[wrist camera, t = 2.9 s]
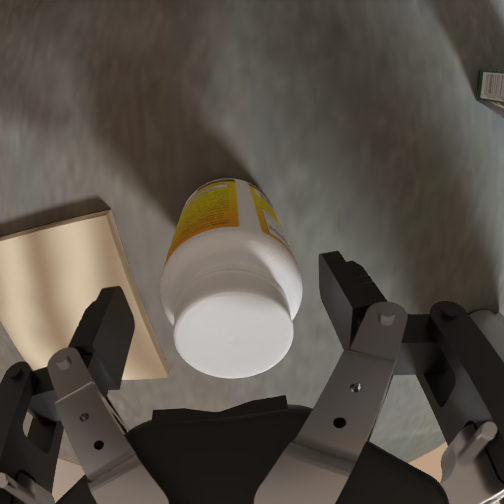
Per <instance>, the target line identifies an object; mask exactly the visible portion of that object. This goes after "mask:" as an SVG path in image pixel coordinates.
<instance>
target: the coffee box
mask: <svg viewBox="0 0 504 504" xmlns="http://www.w3.org/2000/svg"><path fill="white" fill-rule="evenodd" d="M476 100H477V101H479V102H480V103H482V104H484V105H485V106H487V107H488V108H490V109H492V110H493V111H494V112H496V113H497V114H499V115H500V116H502V117H503V118H504V70H483V69H482V70H480V76H479V85H478V92H477V97H476Z"/></svg>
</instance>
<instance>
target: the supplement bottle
mask: <svg viewBox="0 0 504 504" xmlns="http://www.w3.org/2000/svg"><path fill="white" fill-rule="evenodd" d="M160 298H161V303H162V306H163V309H164V312H165V314H166V316H167V318H168V319H169V321H170V322H171V324H172V325H173V326H174V327H173V338H174V343H175V346H176V348H177V351H178V352H179V354H180V355H181V357H182V358H183V359H184V360H185V361H186V362H187V363H188V364H189V365H191V366H192V367H194V368H195V369H197V370H199V371H201V372H203V373H206V374H209V375H212V376H216V377H222V378H242V377H249V376H253V375H256V374H259V373H261V372H264V371H266V370H268V369H270V368H271V367H273V366H274V365H275V364H277V363H278V362H279V361H280V360H281V359H282V358H283V357H284V356H285V354H286V353H287V352H288V350H289V348H290V346H291V343H292V340H293V323H292V320H293V319H294V317H295V315H296V313H297V312H298V309H299V306H300V303H301V299H302V279H301V275H300V271H299V268H298V265H297V263H296V260H295V258H294V255H293V253H292V251H291V249H290V246H289V244H288V241H287V239H286V237H285V234H284V231H283V229H282V227H281V225H280V222H279V220H278V217H277V215H276V213H275V211H274V209H273V207H272V204H271V203H270V201H269V199H268V198H267V197H266V195H265V194H264V193H263V192H262V191H261V190H260V189H258V188H257V187H256V186H254V185H252V184H251V183H248V182H246V181H243V180H239V179H233V178H225V179H218V180H214V181H211V182H208V183H206V184H204V185H202V186H201V187H199V188H198V189H197V190H196V191H195V192H193V194H192V195H191V196H190V197H189V198H188V200H187V201H186V203H185V205H184V207H183V210H182V213H181V215H180V218H179V221H178V225H177V228H176V231H175V234H174V236H173V240H172V243H171V246H170V249H169V252H168V255H167V259H166V262H165V265H164V269H163V272H162V277H161V283H160Z"/></svg>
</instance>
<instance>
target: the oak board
mask: <svg viewBox="0 0 504 504" xmlns="http://www.w3.org/2000/svg"><path fill="white" fill-rule="evenodd" d="M112 286H120V287H121V288H122V289H123V292H124V294H125V297H126V299H127V302H128V304H129V306H130V309H131V311H132V314H133V316H134V320H135V330H134V334H133V338H132V341H131V345H130V349H129V353H128V357H127V361H126V364H125V368H124V373H123V377H122V380H134V379H155V378H168V376H169V366H168V364H167V362H166V360H165V357H164V355H163V353H162V350H161V348H160V346H159V343H158V341H157V339H156V336H155V334H154V331H153V329H152V326H151V324H150V321H149V319H148V316H147V314H146V311H145V309H144V306H143V303H142V301H141V298H140V295H139V293H138V290H137V287H136V284H135V281H134V279H133V276H132V273H131V270H130V267H129V264H128V261H127V258H126V255H125V252H124V249H123V246H122V243H121V240H120V236H119V233H118V230H117V227H116V223H115V220H114V217H113V213H112V210H106V211H102V212H97V213H93V214H89V215H84V216H80V217H76V218H72V219H67V220H63V221H59V222H55V223H51V224H47V225H44V226H40V227H36V228H32V229H28V230H25V231H21V232H17V233H14V234H10V235H7V236H3V237H0V321H1V322H2V324H3V326H4V328H5V329H6V331H7V333H8V334H9V336H10V338H11V339H12V341H13V342H14V344H15V346H16V347H17V349H18V350H19V352H20V353H21V355H22V356H23V358H24V359H25V361H26V362H27V363H28V364H29V365H30V366H31V368H32V369H33V371H34V370H37V369H41V368H44V367H47V364H48V361H49V359H50V358H51V357H52V355H53V354H54V353H56V352H57V351H59V350H61V349H63V348H68V346H69V343H70V341H71V339H72V337H73V335H74V332H75V330H76V328H77V326H78V324H79V322H80V320H81V319H82V316H83V314H84V311H85V309H86V308H87V307H88V306H89V305H90V304H91V303H92V302H93V301H96V299H97V297H98V295H99V293H100V291H101V289H102V288H106V287H112Z"/></svg>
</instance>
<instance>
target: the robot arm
mask: <svg viewBox="0 0 504 504" xmlns="http://www.w3.org/2000/svg"><path fill="white" fill-rule="evenodd" d="M319 289H320V295H321V299H322V302H323V304H324V306H325V309H326V311H327V313H328V315H329V318H330V320H331V322H332V324H333V326H334V329H335V331H336V333H337V335H338V338H339V340H340V342H341V344H342V347H343V349H344V351H343V353H342V355H341V357H340V359H339V361H338V363H337V365H336V367H335V369H334V371H333V373H332V375H331V377H330V378H329V380H328V382H327V384H326V386H325V388H324V390H323V392H322V393H321V395H320V397H319V399H318V401H317V403H316V404H315V406H314V408H313V409H312V408H309V407H305V406H300V405H290V404H287V400H286V395H284V396H278V397H272V398H266V399H260V400H253V401H250V402H247V403H244V404H241V405H238V406H236V407H233V408H230V409H227V410H224V411H221V412H208V411H200V410H192V409H185V408H181V409H166V410H153V415H152V420H149V421H147V422H144V423H142V424H140V425H138V426H136V427H134V428H133V429H131V430H129V428H128V427H127V425H126V424H125V422H124V421H123V419H122V418H121V416H120V415H119V413H118V412H117V410H116V408H115V407H114V405H113V404H112V402H111V400H110V399H109V398H108V396H107V394H108V390H119V389H120V385H121V381H122V377H123V373H124V368H125V364H126V361H127V357H128V353H129V349H130V345H131V341H132V338H133V334H134V330H135V320H134V316H133V314H132V311H131V309H130V306H129V304H128V302H127V299H126V297H125V294H124V292H123V289H122V288H121V287H120V286H112V287H106V288H102V289H101V291H100V293H99V295H98V297H97V299H96V301H93V302H92V303H91V304H90V305H89V306H88V307H87V308H86V309H85V311H84V314H83V316H82V319H81V320H80V322H79V324H78V326H77V328H76V330H75V332H74V335H73V337H72V339H71V341H70V343H69V346H68V348H63V349H61V350H59V351H57V352H56V353H54V354H53V355H52V357H51V358H50V359H49V361H48V364H47V367H44V368H41V369H37V370H34V371H33V369H32V368H31V366H30V365H29V364H28V363H27V362H18V363H15V364H14V365H12V366H11V367H10V368H9V369H8V370H7V371H6V373H5V375H4V377H3V379H2V382H1V384H0V504H494V503H496V502H497V501H500V504H504V316H503V315H502V314H501V313H497V314H494V313H492V312H491V311H489V310H479V311H476V312H473V313H471V314H470V315H469V314H468V313H467V312H466V311H465V309H464V308H463V307H461V306H460V305H458V304H456V303H454V302H449V301H442V302H438V303H436V304H434V305H433V306H432V307H431V310H430V314H422V315H411V314H407V312H406V311H405V309H404V308H403V307H401V306H400V305H398V304H396V303H392V302H387V300H386V299H385V297H384V296H383V294H382V293H381V292H380V290H379V289H378V287H377V286H376V285H375V283H374V282H372V279H371V278H370V276H368V274H367V272H366V271H365V270H364V268H363V267H362V266H361V265H359V264H357V263H356V262H354V261H348V262H346V261H345V260H344V258H343V257H342V255H341V254H340V252H339V251H333V252H328V253H322V254H319ZM414 374H416V376H417V378H418V380H419V382H420V384H421V387H422V389H423V391H424V393H425V395H426V397H427V399H428V401H429V404H430V406H431V408H432V410H433V412H434V415H435V417H436V419H437V421H438V424H439V426H440V428H441V430H442V433H443V435H444V437H445V440H446V442H447V445H448V448H447V449H446V451H445V452H444V453H443V455H442V459H441V468H442V480H441V483H439V482H438V481H437V480H436V479H434V478H433V477H432V476H430V475H428V474H426V473H425V472H423V471H421V470H419V469H417V468H415V467H413V466H412V465H410V464H408V463H406V462H404V461H402V460H401V459H399V458H397V457H395V456H393V455H392V454H390V453H388V452H386V451H385V450H383V449H381V448H380V447H378V446H376V445H374V444H373V443H371V442H369V441H370V439H371V436H372V434H373V431H374V428H375V426H376V423H377V420H378V418H379V415H380V412H381V410H382V407H383V404H384V401H385V398H386V396H387V393H388V390H389V387H390V384H391V381H392V378H393V375H414ZM27 411H28V412H29V413H30V414H31V415H32V416H33V419H32V422H31V426H30V429H29V432H28V436H27V437H26V436H25V434H24V432H23V422H24V419H25V416H26V412H27ZM64 429H65V432H66V434H67V436H68V439H69V441H70V443H71V445H72V448H73V450H74V452H75V454H76V456H77V458H78V460H79V462H80V465H81V467H82V469H83V470H84V472H85V475H84V476H83V477H82V478H81V479H80V480H79V481H78V482H77V483H76V484H75V485H74V486H73V487H72V488H71V489H70V490H69V491H68V492H67V493H66V494H64V495H63V497H61V498H60V499H59V500H58V501H57V502H56V503H55V501H54V498H53V496H52V488H53V482H54V475H55V469H56V464H57V459H58V454H59V449H60V444H61V439H62V435H63V430H64Z"/></svg>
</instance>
